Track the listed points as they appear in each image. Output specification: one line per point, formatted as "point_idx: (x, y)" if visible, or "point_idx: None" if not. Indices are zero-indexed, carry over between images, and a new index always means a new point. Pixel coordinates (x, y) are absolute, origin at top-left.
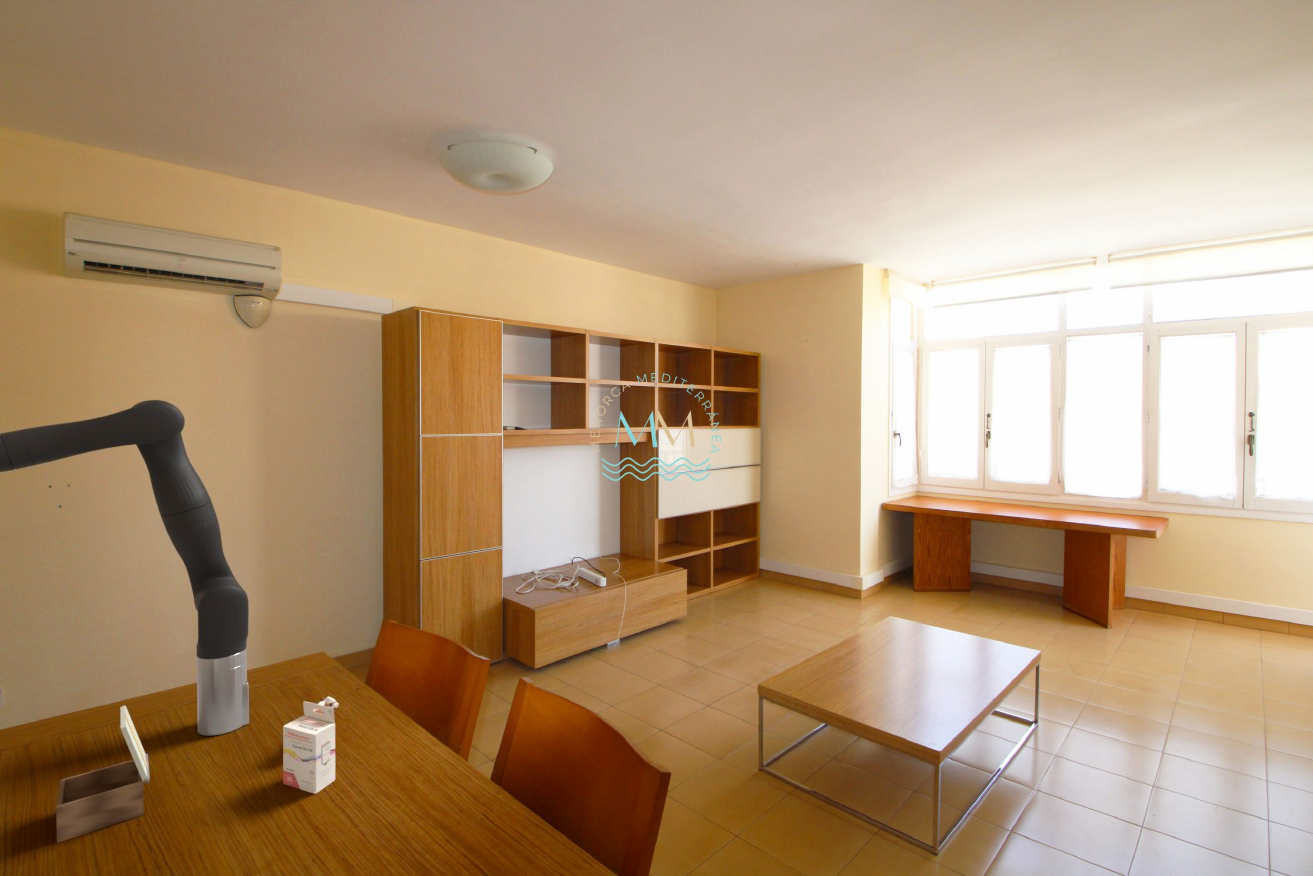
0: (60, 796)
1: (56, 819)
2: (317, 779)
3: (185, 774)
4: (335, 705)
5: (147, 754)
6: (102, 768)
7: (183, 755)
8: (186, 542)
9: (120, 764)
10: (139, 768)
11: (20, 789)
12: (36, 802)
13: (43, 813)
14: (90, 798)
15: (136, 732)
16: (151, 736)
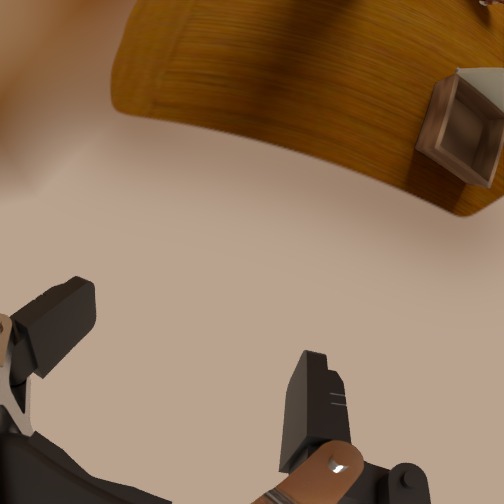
0: (473, 172)
1: (481, 186)
2: None
3: (441, 48)
4: None
5: (459, 68)
6: (448, 108)
7: (390, 17)
8: None
9: (454, 94)
10: None
11: (301, 144)
12: (361, 149)
13: (397, 157)
14: (497, 160)
15: (477, 68)
16: (289, 4)
